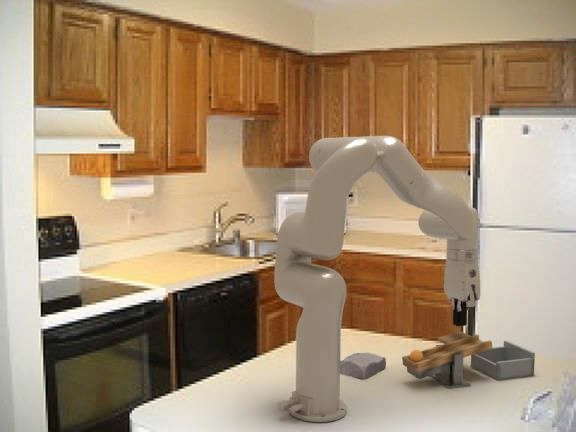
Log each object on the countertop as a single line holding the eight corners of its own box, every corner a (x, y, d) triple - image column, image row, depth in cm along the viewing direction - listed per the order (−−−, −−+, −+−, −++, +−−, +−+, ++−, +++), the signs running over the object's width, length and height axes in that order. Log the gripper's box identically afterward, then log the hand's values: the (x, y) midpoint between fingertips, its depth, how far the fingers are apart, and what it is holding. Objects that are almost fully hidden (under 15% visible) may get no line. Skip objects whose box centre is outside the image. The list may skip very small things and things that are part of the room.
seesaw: (416, 380, 149) (414, 364, 148) (389, 362, 162) (387, 348, 161) (493, 356, 156) (491, 340, 155) (461, 340, 168) (459, 326, 168)
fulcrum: (449, 388, 150) (450, 356, 149) (426, 374, 159) (427, 344, 159) (470, 385, 152) (471, 354, 151) (447, 372, 161) (448, 342, 161)
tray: (497, 380, 156) (498, 357, 155) (470, 366, 166) (471, 344, 165) (533, 375, 159) (534, 352, 159) (505, 362, 170) (506, 340, 169)
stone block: (333, 380, 161) (367, 380, 155) (330, 361, 161) (364, 361, 155) (356, 369, 170) (389, 369, 164) (354, 351, 170) (387, 351, 164)
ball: (420, 366, 150) (415, 355, 149) (409, 365, 153) (405, 354, 152) (427, 359, 152) (423, 348, 151) (417, 357, 154) (413, 346, 154)
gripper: (492, 258, 155) (490, 331, 157) (457, 249, 169) (455, 316, 171) (466, 260, 153) (464, 334, 155) (432, 251, 167) (431, 319, 169)
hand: (459, 324), depth 163 cm, fingers closed
